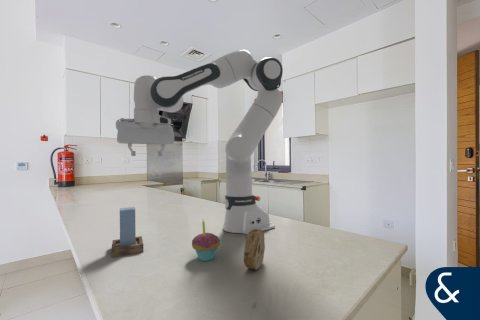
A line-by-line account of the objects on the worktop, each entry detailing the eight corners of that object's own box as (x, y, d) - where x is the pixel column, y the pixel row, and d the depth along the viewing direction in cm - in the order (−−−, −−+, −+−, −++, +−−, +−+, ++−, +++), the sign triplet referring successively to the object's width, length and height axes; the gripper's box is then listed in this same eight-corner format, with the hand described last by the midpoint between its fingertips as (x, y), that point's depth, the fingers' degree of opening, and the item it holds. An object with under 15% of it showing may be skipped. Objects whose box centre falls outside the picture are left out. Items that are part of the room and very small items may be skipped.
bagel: (254, 258, 70) (254, 224, 70) (266, 260, 68) (266, 225, 68) (241, 274, 60) (240, 235, 60) (254, 276, 58) (254, 236, 58)
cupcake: (215, 264, 65) (214, 221, 65) (186, 262, 67) (186, 220, 67) (223, 252, 74) (223, 214, 74) (197, 251, 75) (197, 213, 75)
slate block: (135, 241, 80) (134, 206, 80) (135, 246, 76) (135, 209, 76) (120, 244, 78) (119, 208, 78) (120, 248, 74) (119, 210, 74)
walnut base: (141, 243, 83) (141, 236, 83) (143, 251, 75) (143, 244, 75) (112, 247, 79) (112, 240, 79) (111, 257, 71) (111, 249, 71)
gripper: (115, 116, 82) (115, 155, 82) (175, 120, 91) (175, 155, 91) (116, 119, 88) (116, 156, 88) (172, 122, 97) (172, 156, 97)
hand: (146, 155), depth 89 cm, fingers open, 8 cm apart
